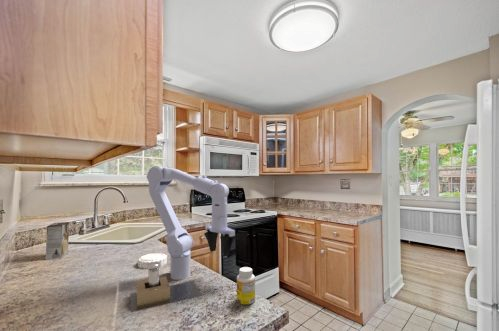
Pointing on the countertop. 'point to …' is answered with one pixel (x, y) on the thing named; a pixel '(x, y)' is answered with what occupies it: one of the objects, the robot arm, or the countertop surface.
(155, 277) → the steel pin
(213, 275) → the countertop surface
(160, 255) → the mooncake
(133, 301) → the clevis base
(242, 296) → the supplement bottle
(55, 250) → the coffee box
